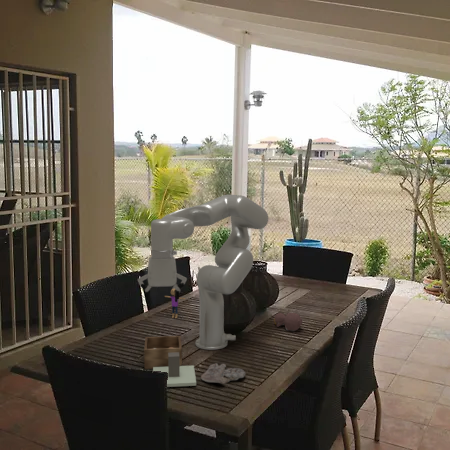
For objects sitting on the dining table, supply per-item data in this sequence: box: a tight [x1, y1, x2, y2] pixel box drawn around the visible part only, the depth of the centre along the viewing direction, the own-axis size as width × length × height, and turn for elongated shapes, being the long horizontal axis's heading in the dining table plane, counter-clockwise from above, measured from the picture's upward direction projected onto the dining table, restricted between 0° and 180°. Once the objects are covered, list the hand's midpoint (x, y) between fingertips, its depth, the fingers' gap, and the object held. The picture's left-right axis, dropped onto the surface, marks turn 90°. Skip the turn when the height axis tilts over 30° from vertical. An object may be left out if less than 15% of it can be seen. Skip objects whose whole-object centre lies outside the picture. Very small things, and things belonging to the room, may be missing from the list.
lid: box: [152, 352, 197, 388], centre depth 176 cm, size 14×14×8 cm
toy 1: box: [164, 286, 186, 319], centre depth 243 cm, size 10×6×15 cm, turn 68°
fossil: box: [200, 362, 246, 385], centre depth 179 cm, size 17×4×15 cm
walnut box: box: [143, 335, 183, 370], centre depth 192 cm, size 13×13×7 cm
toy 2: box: [273, 312, 303, 332], centre depth 229 cm, size 8×8×15 cm
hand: (162, 301), depth 189 cm, fingers open, 9 cm apart
